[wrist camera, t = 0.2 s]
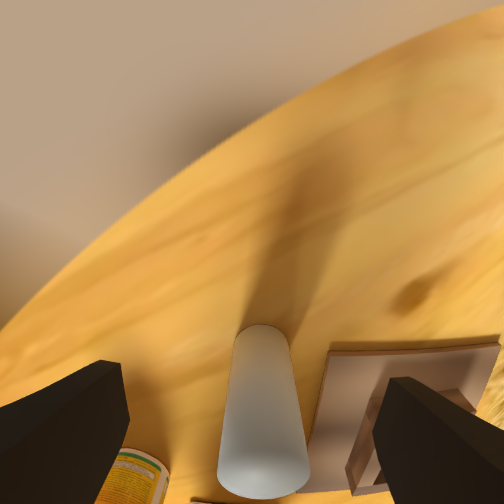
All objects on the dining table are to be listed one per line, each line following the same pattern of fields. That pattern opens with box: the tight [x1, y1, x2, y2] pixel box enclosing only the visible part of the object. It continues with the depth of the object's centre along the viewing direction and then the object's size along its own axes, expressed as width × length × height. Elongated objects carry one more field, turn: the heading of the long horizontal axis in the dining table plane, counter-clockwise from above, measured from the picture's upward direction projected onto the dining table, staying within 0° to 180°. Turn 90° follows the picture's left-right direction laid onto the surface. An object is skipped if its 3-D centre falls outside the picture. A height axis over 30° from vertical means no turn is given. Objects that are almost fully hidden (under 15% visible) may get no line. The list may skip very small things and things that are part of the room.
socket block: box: [296, 342, 502, 496], centre depth 18 cm, size 14×14×4 cm
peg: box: [217, 324, 310, 499], centre depth 14 cm, size 3×3×10 cm
